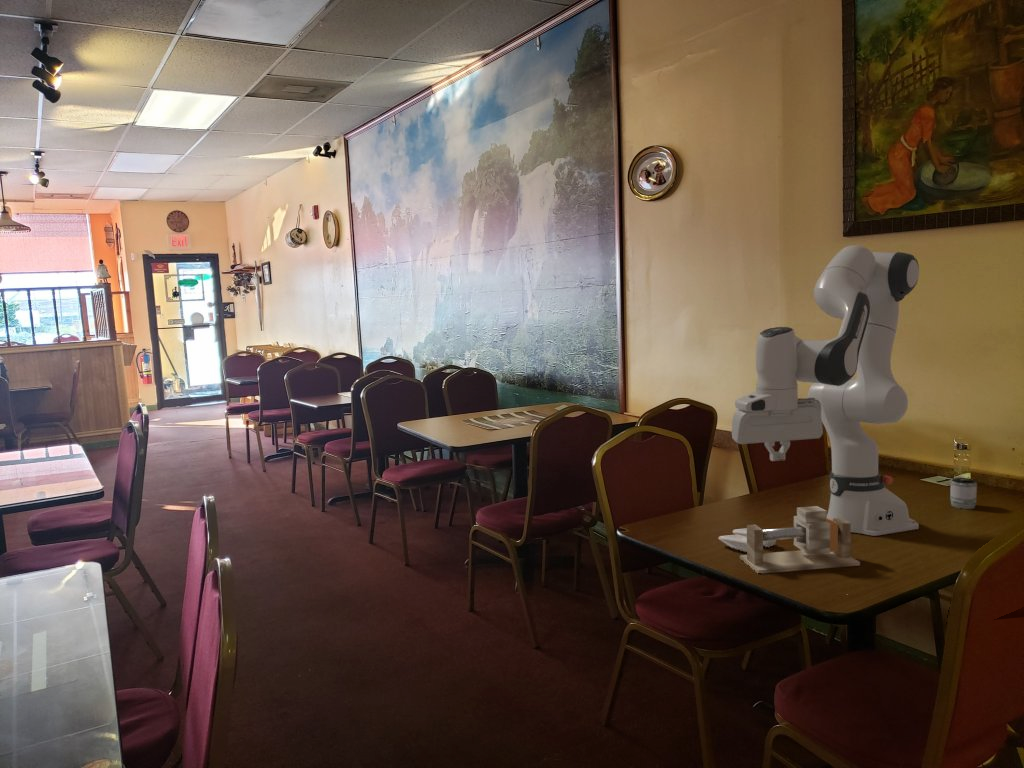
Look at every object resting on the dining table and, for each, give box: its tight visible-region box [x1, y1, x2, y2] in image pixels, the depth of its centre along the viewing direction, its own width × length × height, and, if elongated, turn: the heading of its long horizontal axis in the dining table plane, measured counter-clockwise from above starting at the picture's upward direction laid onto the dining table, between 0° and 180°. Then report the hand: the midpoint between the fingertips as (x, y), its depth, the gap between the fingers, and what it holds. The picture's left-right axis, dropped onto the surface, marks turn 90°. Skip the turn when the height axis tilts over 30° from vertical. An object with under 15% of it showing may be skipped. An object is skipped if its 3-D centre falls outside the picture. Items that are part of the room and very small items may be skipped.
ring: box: [827, 518, 838, 552], centre depth 167 cm, size 2×6×6 cm, turn 6°
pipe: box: [763, 525, 841, 541], centre depth 166 cm, size 19×3×3 cm, turn 96°
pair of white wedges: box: [718, 527, 777, 553], centre depth 180 cm, size 12×4×11 cm
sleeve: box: [793, 505, 830, 555], centre depth 167 cm, size 5×7×10 cm
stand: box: [739, 518, 861, 574], centre depth 167 cm, size 24×10×9 cm, turn 96°
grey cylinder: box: [949, 477, 978, 510], centre depth 204 cm, size 6×6×8 cm
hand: (777, 460), depth 164 cm, fingers closed
